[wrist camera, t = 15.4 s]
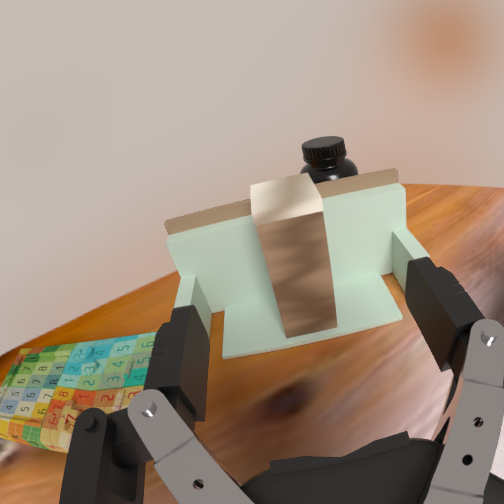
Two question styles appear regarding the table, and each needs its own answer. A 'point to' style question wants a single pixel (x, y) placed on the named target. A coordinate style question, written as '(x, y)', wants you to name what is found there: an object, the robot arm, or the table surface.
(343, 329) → the mint green shelf
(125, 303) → the table surface
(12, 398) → the puzzle game
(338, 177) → the supplement bottle
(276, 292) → the brown wooden block
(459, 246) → the table surface
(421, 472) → the robot arm
